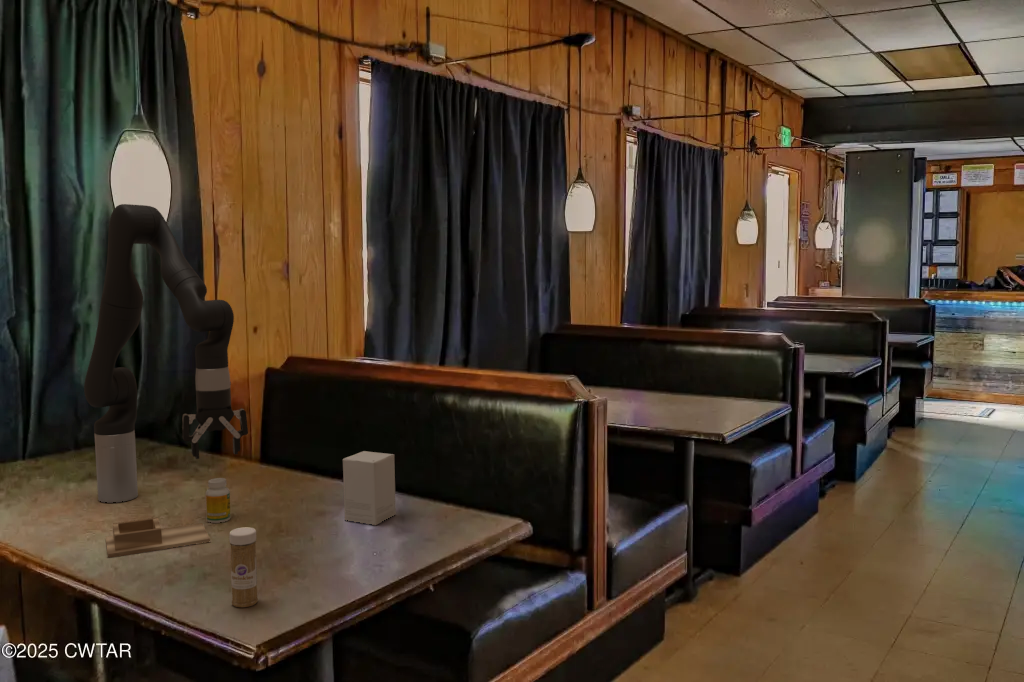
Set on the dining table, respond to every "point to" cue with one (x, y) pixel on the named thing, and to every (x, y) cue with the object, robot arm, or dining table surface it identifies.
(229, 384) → the robot arm
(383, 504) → the supplement box
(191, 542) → the wooden stand
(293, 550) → the dining table surface
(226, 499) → the supplement bottle
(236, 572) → the sprinkles bottle
